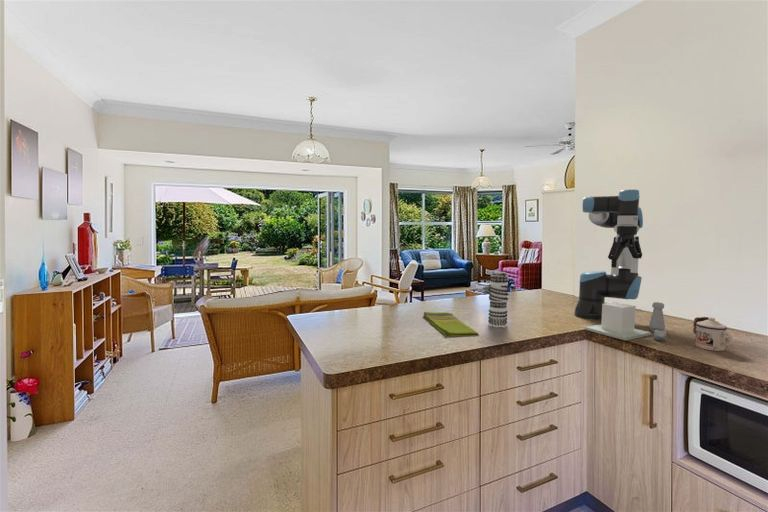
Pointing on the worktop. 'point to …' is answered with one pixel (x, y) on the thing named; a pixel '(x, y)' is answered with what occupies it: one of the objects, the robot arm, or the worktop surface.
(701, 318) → the pottery mug
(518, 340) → the worktop surface
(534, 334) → the worktop surface
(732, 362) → the worktop surface
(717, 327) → the teacup with lid
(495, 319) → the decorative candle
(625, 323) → the white block
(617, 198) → the robot arm
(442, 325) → the dish towel
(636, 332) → the board
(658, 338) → the cylinder
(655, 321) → the salt shaker
